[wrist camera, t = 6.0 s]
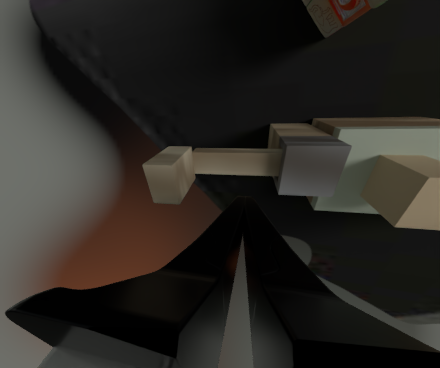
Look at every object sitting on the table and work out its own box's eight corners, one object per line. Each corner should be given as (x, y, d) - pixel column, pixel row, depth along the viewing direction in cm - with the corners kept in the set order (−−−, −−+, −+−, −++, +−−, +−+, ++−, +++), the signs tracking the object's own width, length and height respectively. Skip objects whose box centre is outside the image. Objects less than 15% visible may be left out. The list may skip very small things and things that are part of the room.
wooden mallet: (288, 175, 14) (307, 212, 10) (179, 172, 16) (153, 202, 11) (295, 142, 13) (320, 169, 8) (174, 142, 14) (142, 164, 10)
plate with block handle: (418, 210, 16) (483, 254, 11) (310, 204, 17) (332, 241, 13) (482, 125, 12) (620, 144, 7) (334, 126, 13) (377, 143, 9)
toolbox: (381, 184, 20) (463, 241, 12) (263, 180, 22) (272, 226, 14) (419, 116, 16) (574, 138, 8) (270, 119, 18) (288, 138, 10)
